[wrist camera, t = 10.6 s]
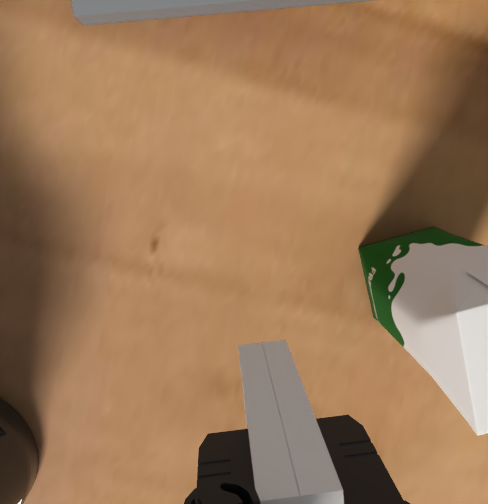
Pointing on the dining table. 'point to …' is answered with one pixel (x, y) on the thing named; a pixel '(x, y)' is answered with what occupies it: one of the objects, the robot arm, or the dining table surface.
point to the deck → (175, 8)
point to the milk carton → (436, 310)
